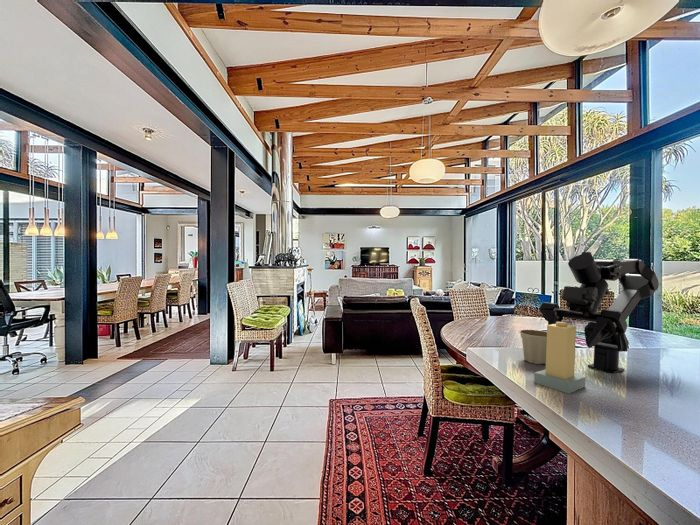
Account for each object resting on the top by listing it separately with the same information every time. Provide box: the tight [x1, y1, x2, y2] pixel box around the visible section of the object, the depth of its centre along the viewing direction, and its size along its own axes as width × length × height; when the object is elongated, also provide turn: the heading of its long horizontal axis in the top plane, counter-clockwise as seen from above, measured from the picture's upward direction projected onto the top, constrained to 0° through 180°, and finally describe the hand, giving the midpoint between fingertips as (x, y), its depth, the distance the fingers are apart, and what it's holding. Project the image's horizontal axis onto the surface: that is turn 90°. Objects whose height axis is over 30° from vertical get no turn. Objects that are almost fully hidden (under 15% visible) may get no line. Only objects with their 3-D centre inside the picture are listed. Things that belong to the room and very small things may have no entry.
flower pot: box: [518, 329, 547, 365], centre depth 104 cm, size 9×9×9 cm
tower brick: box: [545, 321, 577, 379], centre depth 85 cm, size 4×4×13 cm
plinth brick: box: [533, 368, 586, 395], centre depth 85 cm, size 8×8×2 cm
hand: (567, 342), depth 87 cm, fingers open, 9 cm apart
